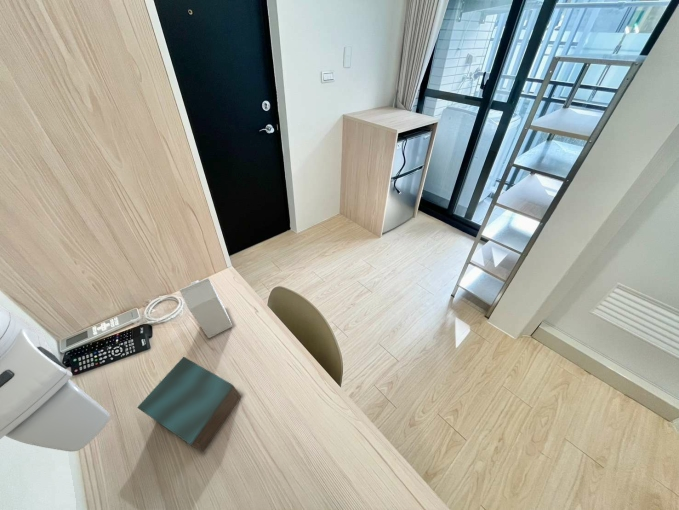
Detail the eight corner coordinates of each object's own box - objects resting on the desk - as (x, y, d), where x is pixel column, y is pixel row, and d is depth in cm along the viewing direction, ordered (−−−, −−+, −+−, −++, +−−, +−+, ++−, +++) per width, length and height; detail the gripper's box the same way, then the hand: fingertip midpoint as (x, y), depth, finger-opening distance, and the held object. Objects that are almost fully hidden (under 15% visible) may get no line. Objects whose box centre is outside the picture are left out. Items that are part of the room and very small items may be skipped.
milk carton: (232, 326, 81) (212, 286, 68) (208, 338, 78) (182, 299, 65) (225, 310, 85) (204, 269, 72) (202, 321, 83) (176, 281, 69)
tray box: (157, 419, 63) (142, 411, 59) (197, 371, 72) (187, 359, 67) (203, 452, 59) (191, 445, 54) (241, 396, 67) (233, 386, 62)
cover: (138, 408, 59) (136, 407, 58) (184, 357, 67) (183, 356, 66) (191, 445, 54) (189, 444, 54) (233, 386, 62) (232, 384, 62)
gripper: (-117, 345, 27) (4, 393, 37) (-14, 451, 21) (99, 476, 30) (-33, 298, 31) (55, 353, 41) (74, 376, 25) (148, 418, 34)
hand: (75, 406), depth 35 cm, fingers closed
